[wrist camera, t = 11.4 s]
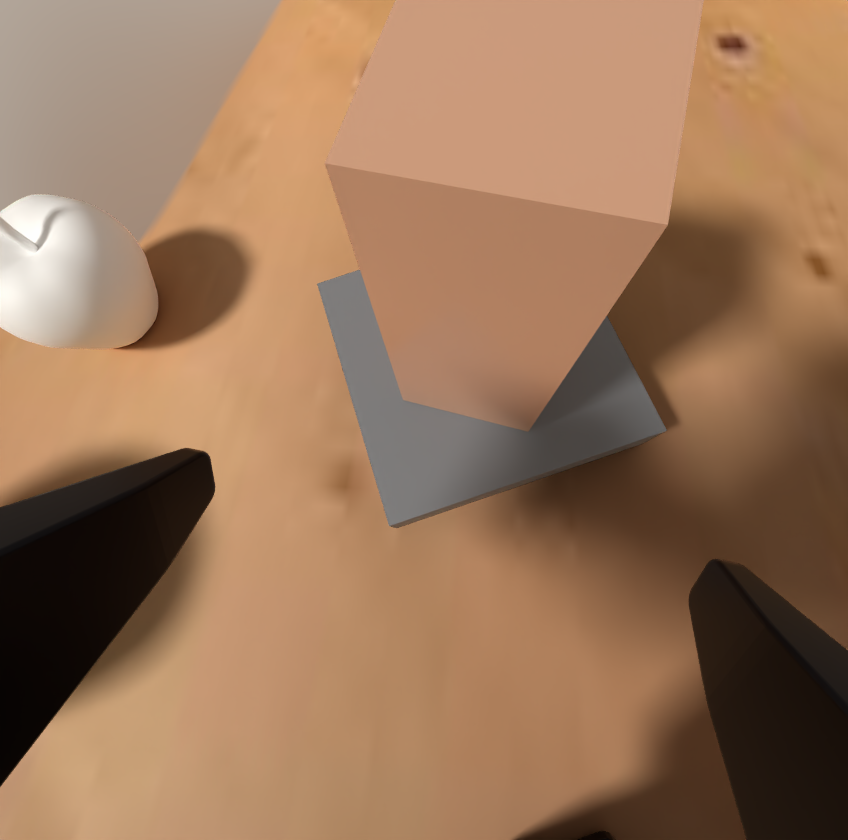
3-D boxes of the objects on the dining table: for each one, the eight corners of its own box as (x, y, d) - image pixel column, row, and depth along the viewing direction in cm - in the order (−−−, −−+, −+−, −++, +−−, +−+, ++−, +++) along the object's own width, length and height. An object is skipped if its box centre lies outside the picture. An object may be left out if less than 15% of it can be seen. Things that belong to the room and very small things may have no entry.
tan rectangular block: (528, 431, 18) (667, 224, 6) (403, 400, 19) (324, 163, 7) (554, 318, 19) (706, -20, 8) (436, 292, 20) (416, -50, 8)
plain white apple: (185, 249, 25) (63, 117, 17) (186, 360, 23) (48, 267, 15) (67, 272, 25) (-105, 151, 17) (58, 384, 23) (-143, 303, 15)
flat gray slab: (636, 446, 20) (666, 430, 17) (398, 528, 20) (389, 526, 17) (538, 247, 24) (550, 207, 21) (334, 315, 23) (317, 283, 21)
